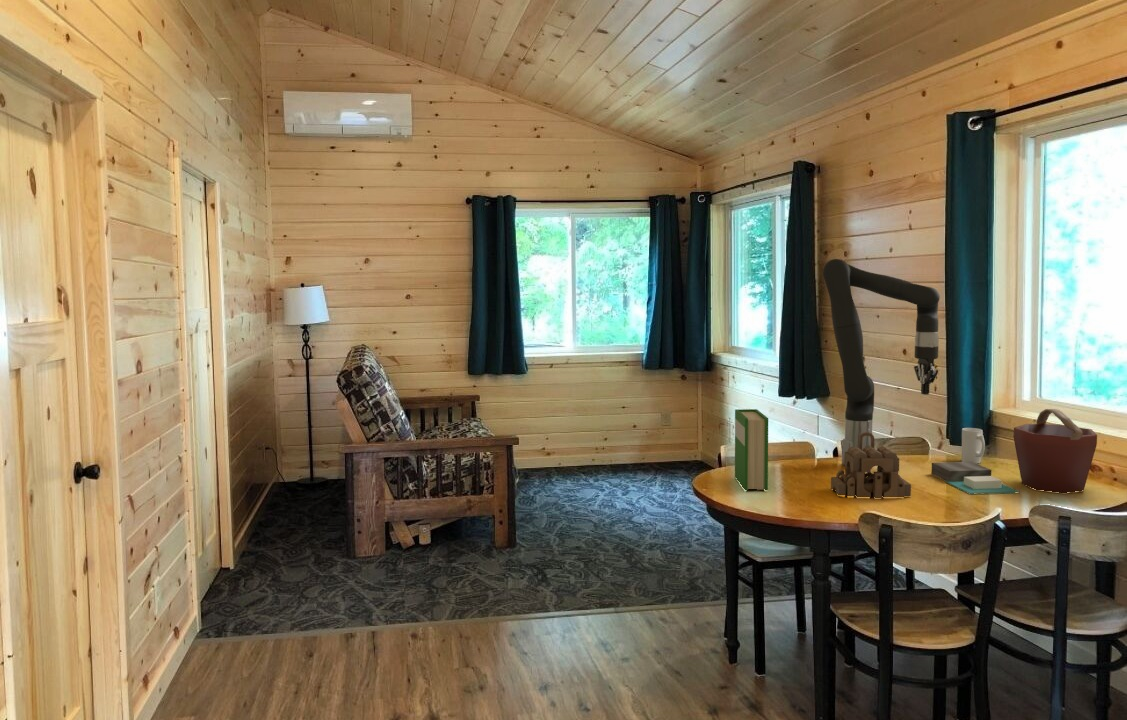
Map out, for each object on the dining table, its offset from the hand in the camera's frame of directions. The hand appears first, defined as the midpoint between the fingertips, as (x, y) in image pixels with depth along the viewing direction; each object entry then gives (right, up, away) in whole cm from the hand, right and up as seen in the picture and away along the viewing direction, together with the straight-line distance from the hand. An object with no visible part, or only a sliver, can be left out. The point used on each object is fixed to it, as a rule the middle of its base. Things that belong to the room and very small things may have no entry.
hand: (925, 394), depth 279 cm
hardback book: (-64, -30, -13) cm, 72 cm away
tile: (+9, -27, -22) cm, 36 cm away
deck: (+8, -28, -9) cm, 30 cm away
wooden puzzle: (-29, -31, -25) cm, 49 cm away
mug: (+23, -26, +12) cm, 37 cm away
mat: (+9, -29, -21) cm, 37 cm away
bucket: (+31, -29, -22) cm, 48 cm away
